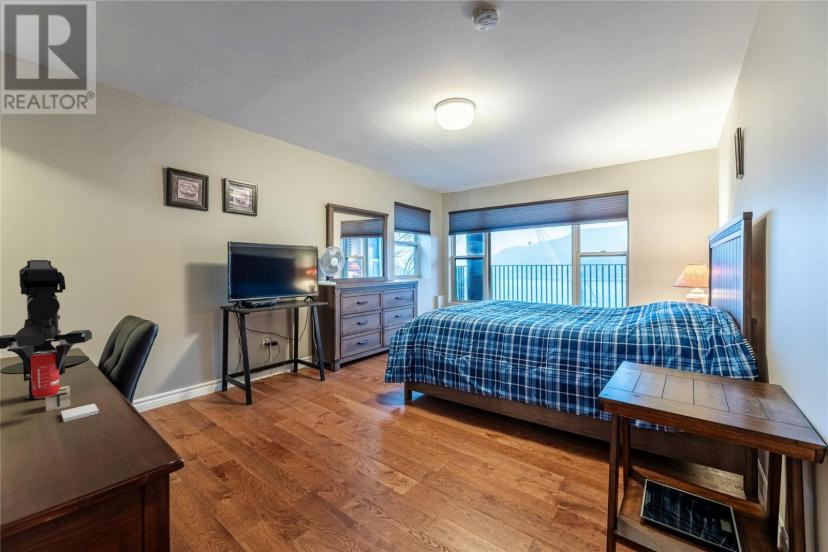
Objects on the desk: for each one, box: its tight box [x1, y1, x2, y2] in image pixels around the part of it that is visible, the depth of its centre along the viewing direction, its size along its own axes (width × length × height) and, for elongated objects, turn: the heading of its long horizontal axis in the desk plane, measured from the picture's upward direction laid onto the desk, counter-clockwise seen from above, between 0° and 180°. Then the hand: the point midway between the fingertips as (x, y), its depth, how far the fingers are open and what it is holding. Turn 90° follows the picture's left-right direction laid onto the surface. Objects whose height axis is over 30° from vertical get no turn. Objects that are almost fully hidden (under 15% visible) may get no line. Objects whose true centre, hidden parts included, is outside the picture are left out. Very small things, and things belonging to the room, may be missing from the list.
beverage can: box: [30, 350, 60, 399], centre depth 96 cm, size 5×5×12 cm
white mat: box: [60, 403, 100, 423], centre depth 97 cm, size 7×7×1 cm
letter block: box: [45, 385, 71, 412], centre depth 103 cm, size 5×5×5 cm
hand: (45, 370), depth 96 cm, fingers closed on beverage can, 5 cm apart
